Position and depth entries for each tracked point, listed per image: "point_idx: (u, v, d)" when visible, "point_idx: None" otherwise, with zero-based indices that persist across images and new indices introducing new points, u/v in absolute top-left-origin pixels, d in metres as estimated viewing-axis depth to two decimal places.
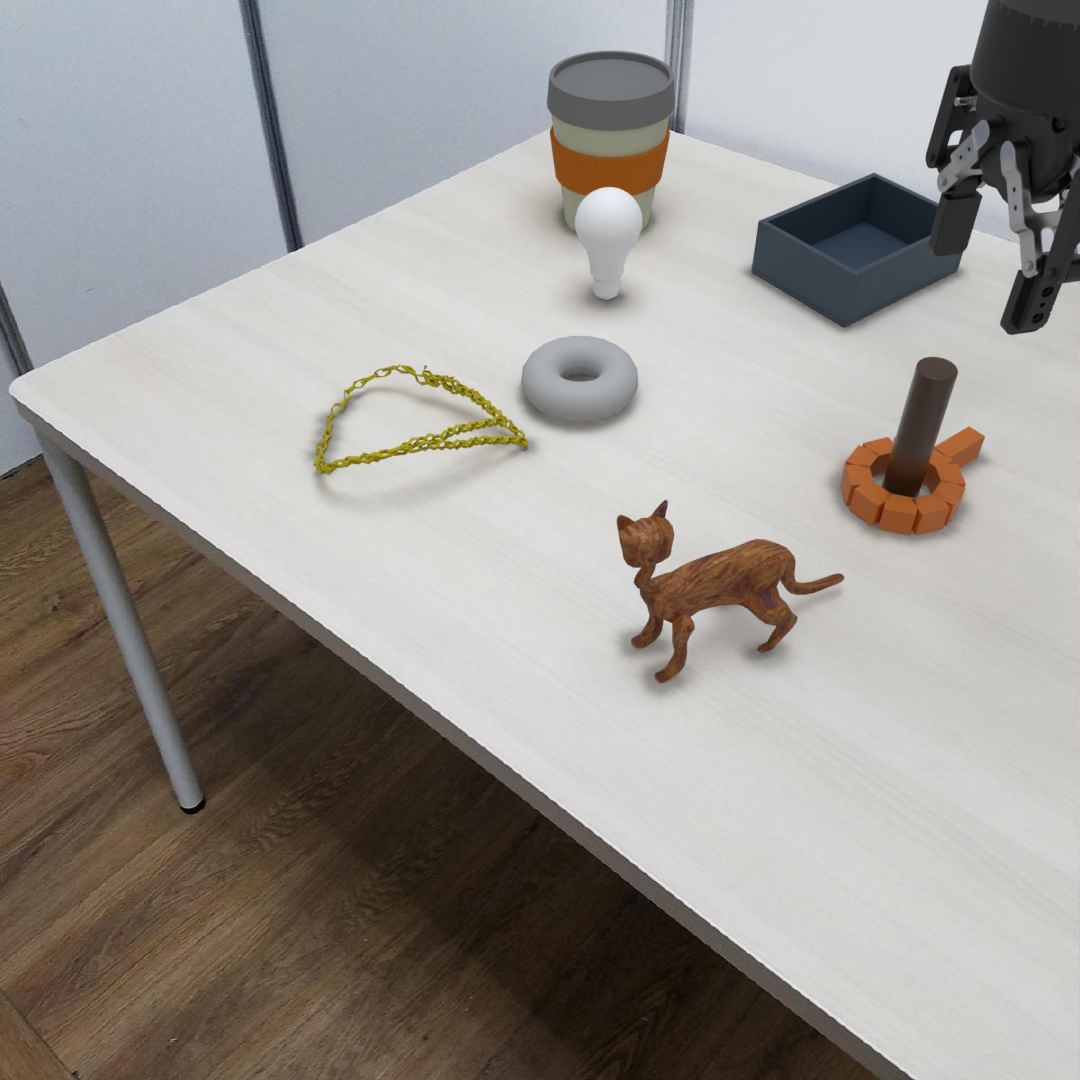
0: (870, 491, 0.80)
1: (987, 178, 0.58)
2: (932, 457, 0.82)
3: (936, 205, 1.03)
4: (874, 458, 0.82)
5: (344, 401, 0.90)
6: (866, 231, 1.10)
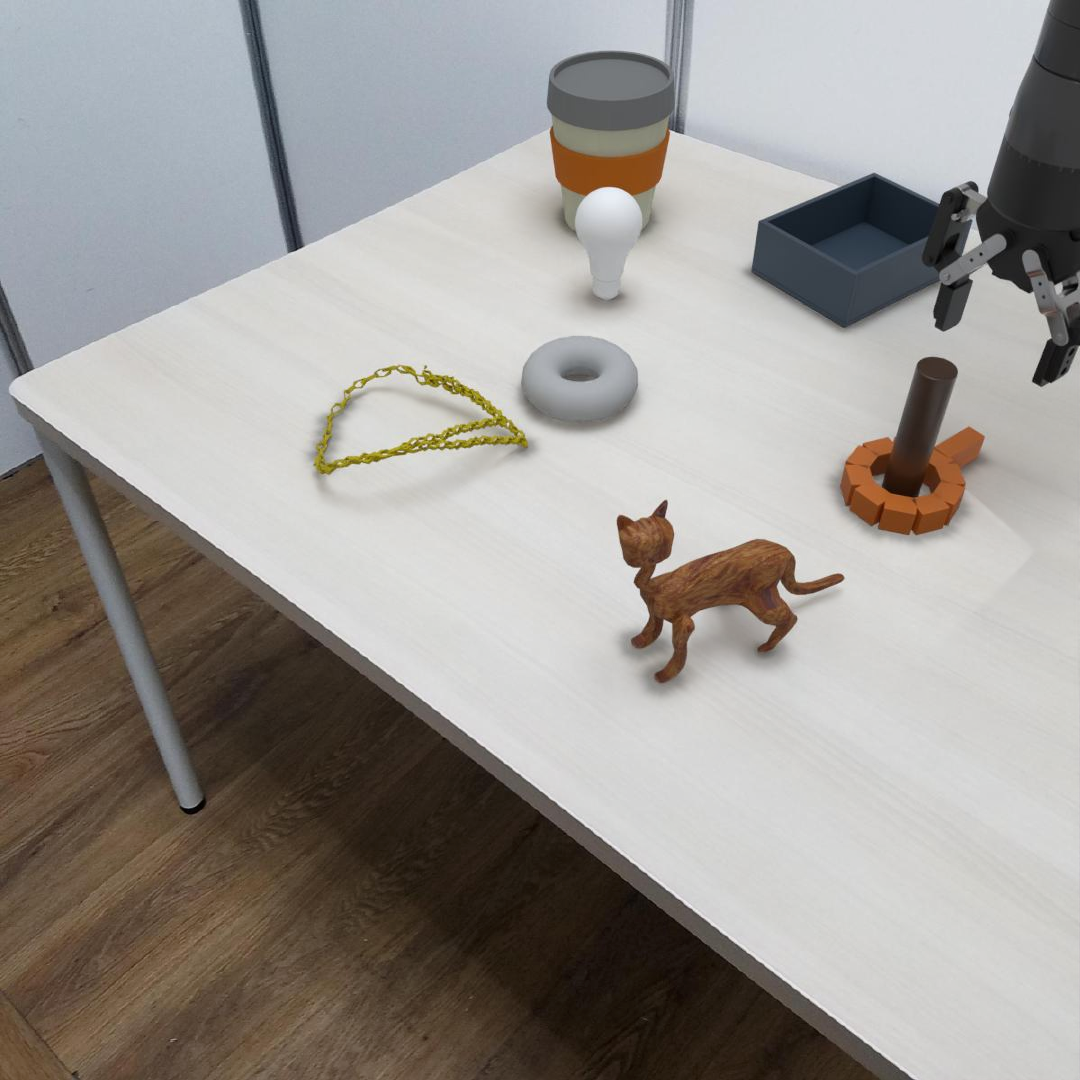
0: (870, 491, 0.80)
1: (998, 273, 0.74)
2: (932, 457, 0.82)
3: (936, 205, 1.03)
4: (874, 458, 0.82)
5: (344, 401, 0.90)
6: (866, 231, 1.10)
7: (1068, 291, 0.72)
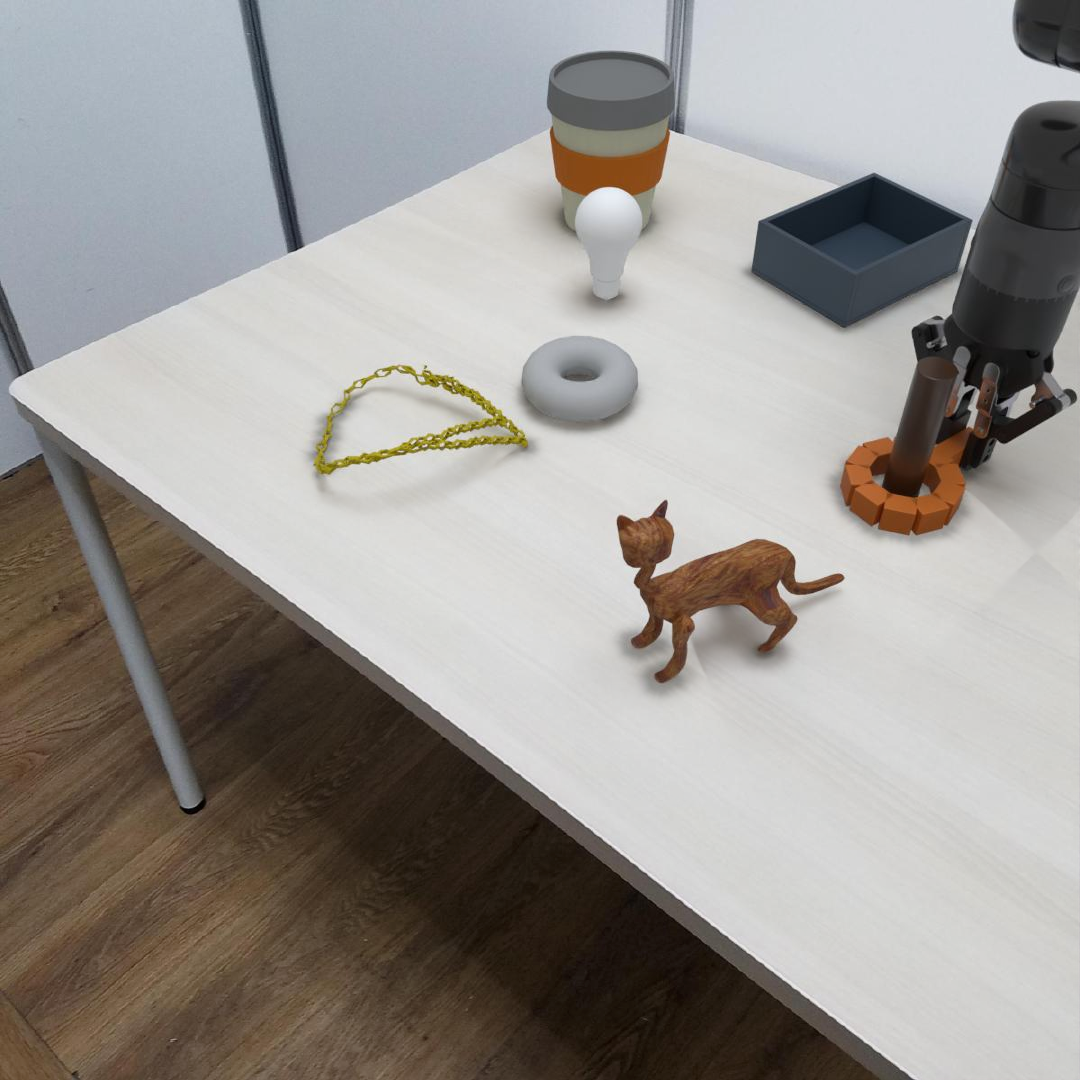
0: (870, 491, 0.80)
1: None
2: (932, 457, 0.82)
3: (936, 205, 1.03)
4: (874, 458, 0.82)
5: (344, 401, 0.90)
6: (866, 231, 1.10)
7: None
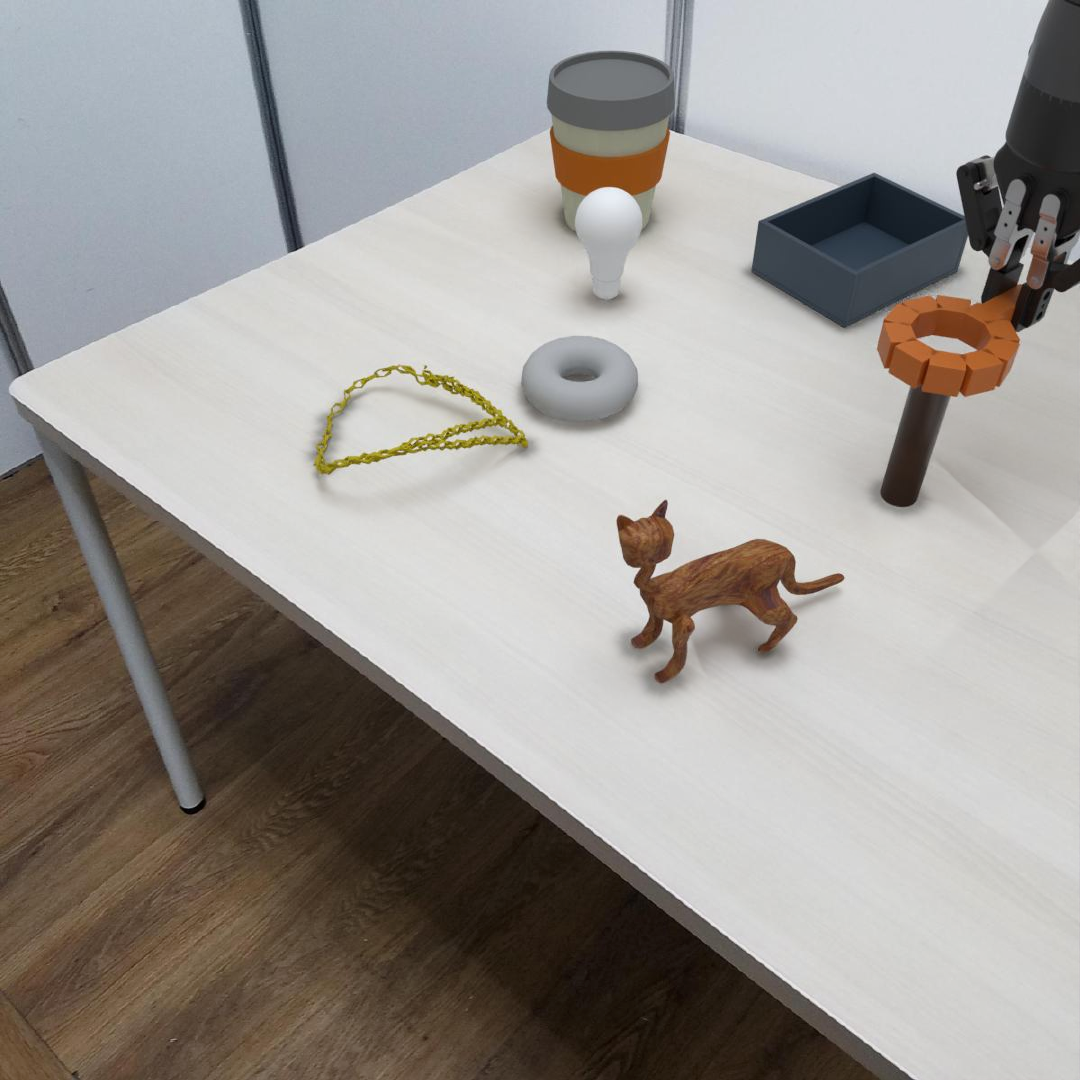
0: (913, 348, 0.71)
1: None
2: (980, 314, 0.73)
3: (936, 205, 1.03)
4: (915, 316, 0.73)
5: (344, 401, 0.90)
6: (866, 231, 1.10)
7: None
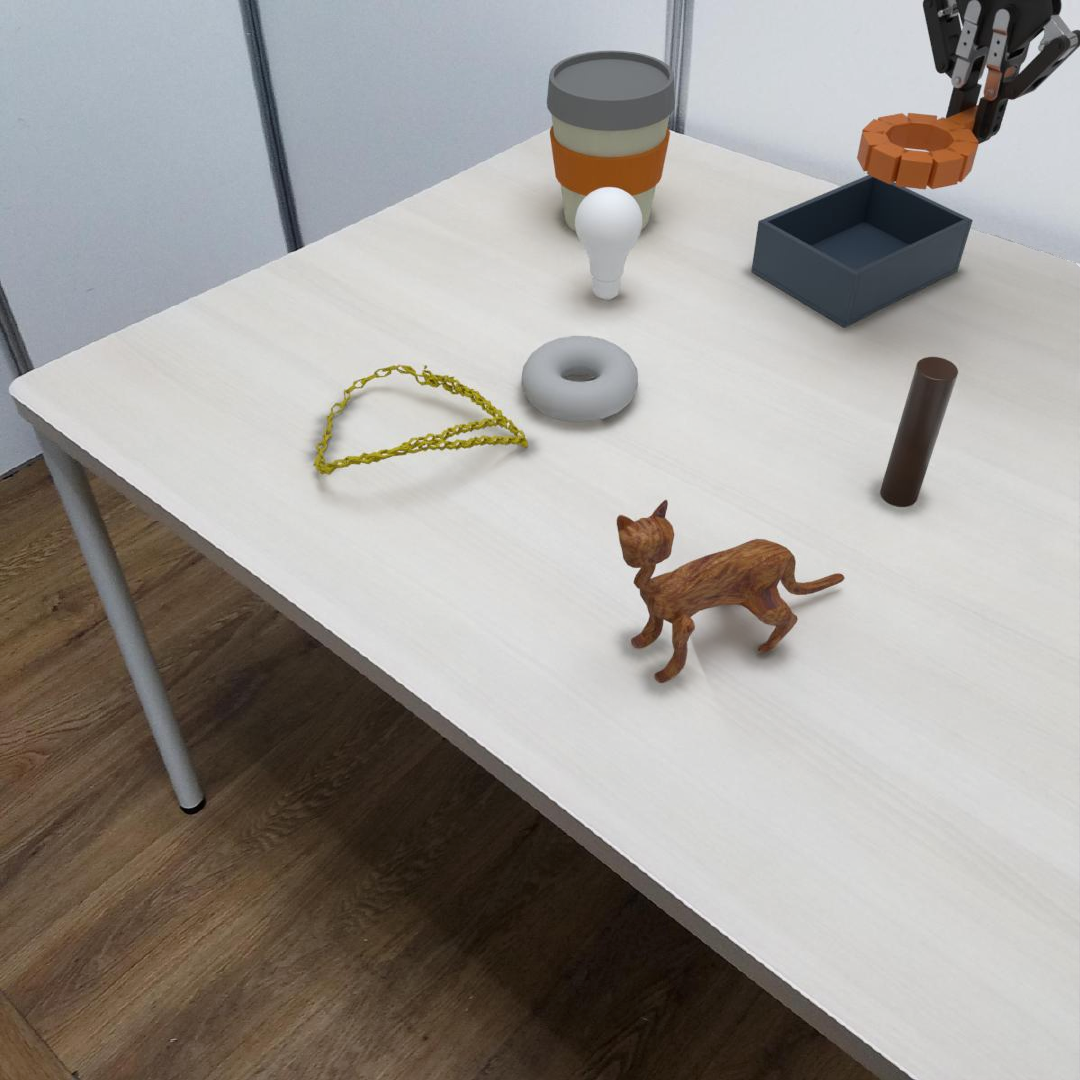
0: (887, 148, 0.83)
1: None
2: (945, 125, 0.85)
3: (936, 205, 1.03)
4: (889, 127, 0.85)
5: (344, 401, 0.90)
6: (866, 231, 1.10)
7: (1014, 52, 0.83)
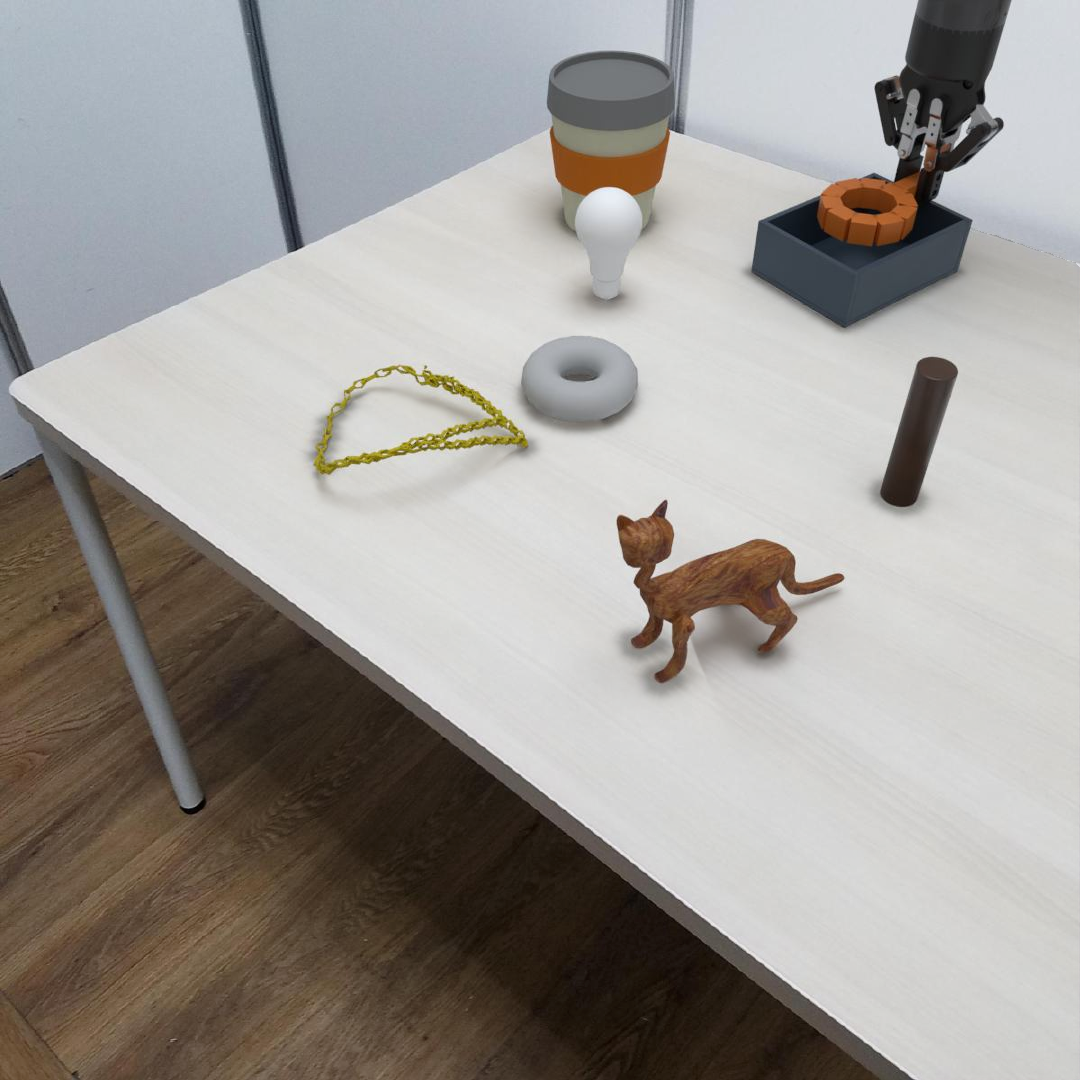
0: (840, 211, 0.99)
1: (916, 122, 0.99)
2: (891, 189, 1.01)
3: (936, 205, 1.03)
4: (844, 191, 1.01)
5: (344, 401, 0.90)
6: None
7: (948, 132, 0.99)
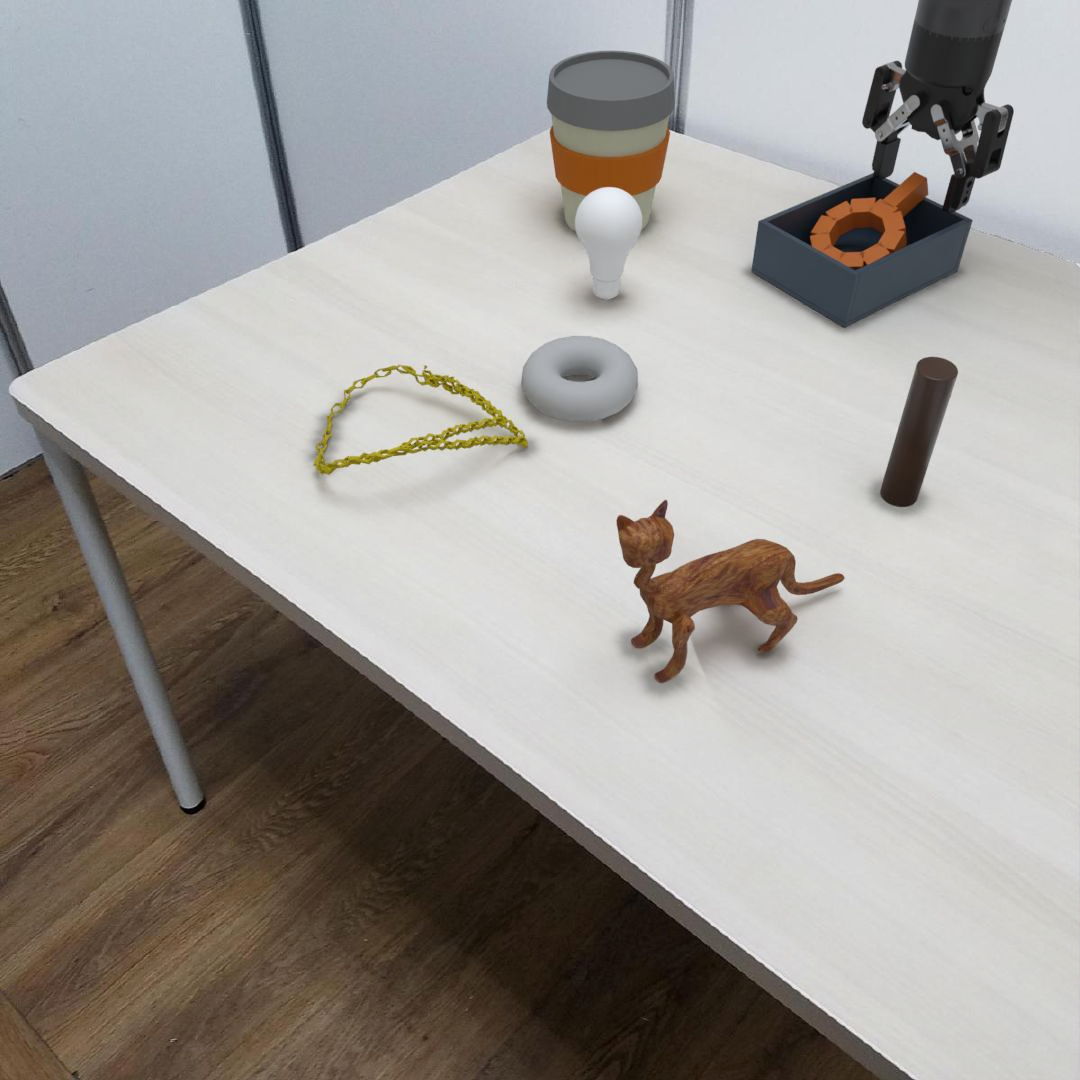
0: None
1: (916, 127, 1.00)
2: (880, 210, 1.02)
3: (936, 205, 1.03)
4: (833, 224, 1.04)
5: (344, 401, 0.90)
6: (866, 231, 1.10)
7: (966, 137, 0.98)
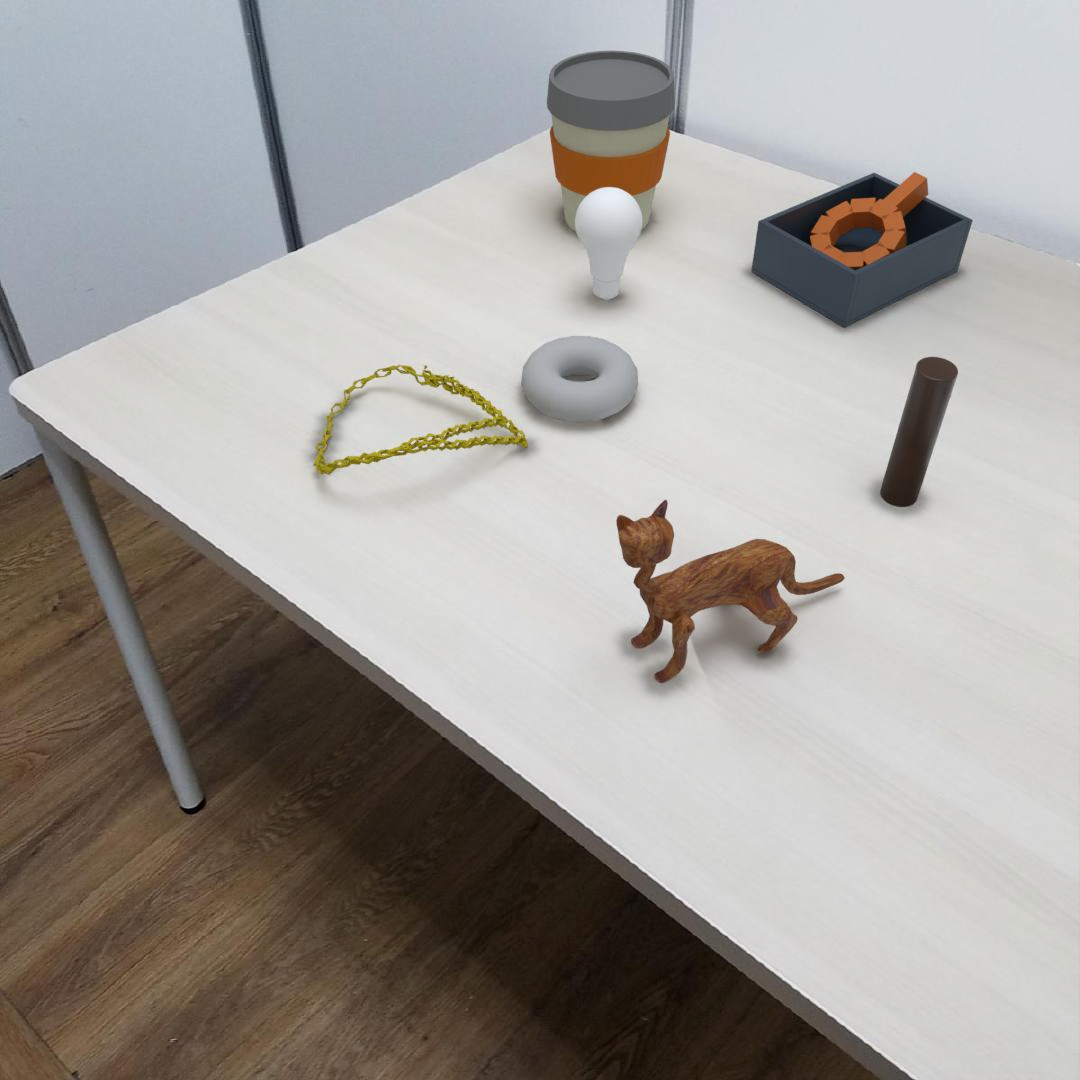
0: None
1: None
2: (880, 210, 1.02)
3: (936, 205, 1.03)
4: (833, 224, 1.04)
5: (344, 401, 0.90)
6: (866, 231, 1.10)
7: None
